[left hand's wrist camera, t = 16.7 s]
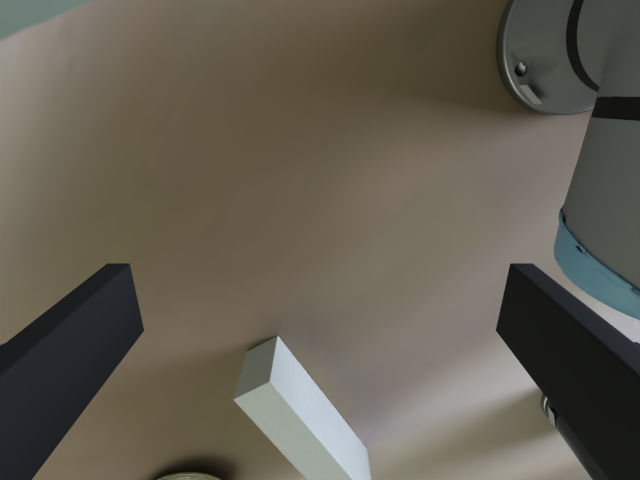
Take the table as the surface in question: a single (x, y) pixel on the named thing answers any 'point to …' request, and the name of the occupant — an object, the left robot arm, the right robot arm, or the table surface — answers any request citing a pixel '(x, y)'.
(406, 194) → the table surface
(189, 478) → the spoon
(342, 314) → the table surface
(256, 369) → the bar
